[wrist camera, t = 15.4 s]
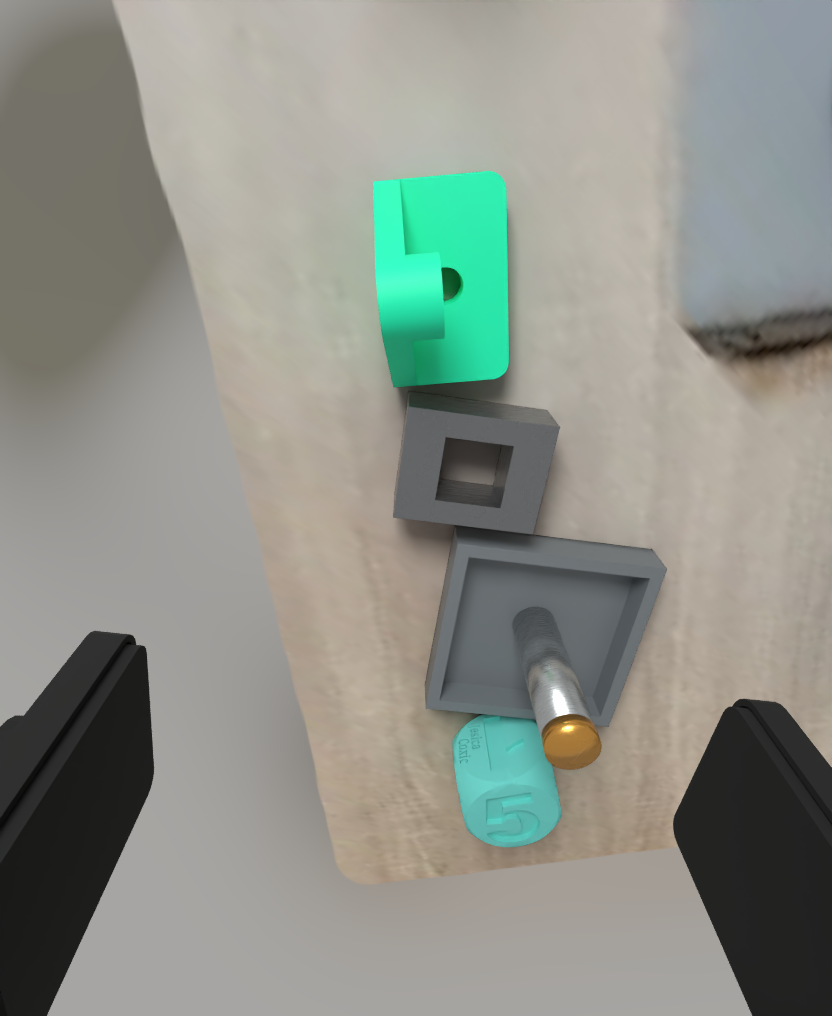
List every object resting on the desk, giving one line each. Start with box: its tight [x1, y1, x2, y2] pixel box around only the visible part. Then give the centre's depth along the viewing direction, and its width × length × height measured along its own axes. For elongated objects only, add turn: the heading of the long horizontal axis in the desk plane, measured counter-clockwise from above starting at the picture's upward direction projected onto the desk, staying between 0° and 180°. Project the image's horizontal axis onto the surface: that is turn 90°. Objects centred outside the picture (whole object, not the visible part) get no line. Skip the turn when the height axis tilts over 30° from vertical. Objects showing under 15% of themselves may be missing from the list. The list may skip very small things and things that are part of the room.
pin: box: [512, 607, 601, 770], centre depth 44 cm, size 4×4×13 cm
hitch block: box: [393, 391, 560, 534], centre depth 42 cm, size 10×8×4 cm
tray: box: [425, 525, 667, 727], centre depth 49 cm, size 16×16×3 cm
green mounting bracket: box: [373, 171, 509, 387], centre depth 35 cm, size 12×8×10 cm, turn 5°
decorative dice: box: [453, 714, 562, 847], centre depth 53 cm, size 8×8×8 cm
